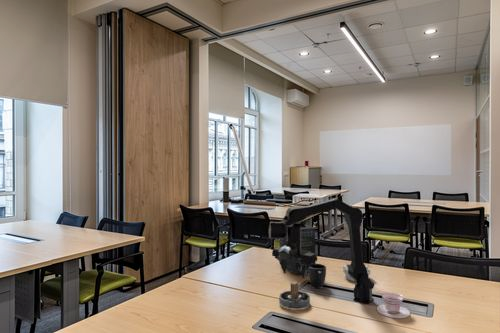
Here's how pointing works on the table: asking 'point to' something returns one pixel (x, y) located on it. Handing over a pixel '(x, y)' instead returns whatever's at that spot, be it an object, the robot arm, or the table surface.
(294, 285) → the tan wooden plank
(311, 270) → the mug
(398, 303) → the teacup
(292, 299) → the tin
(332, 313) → the table surface
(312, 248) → the headset box
